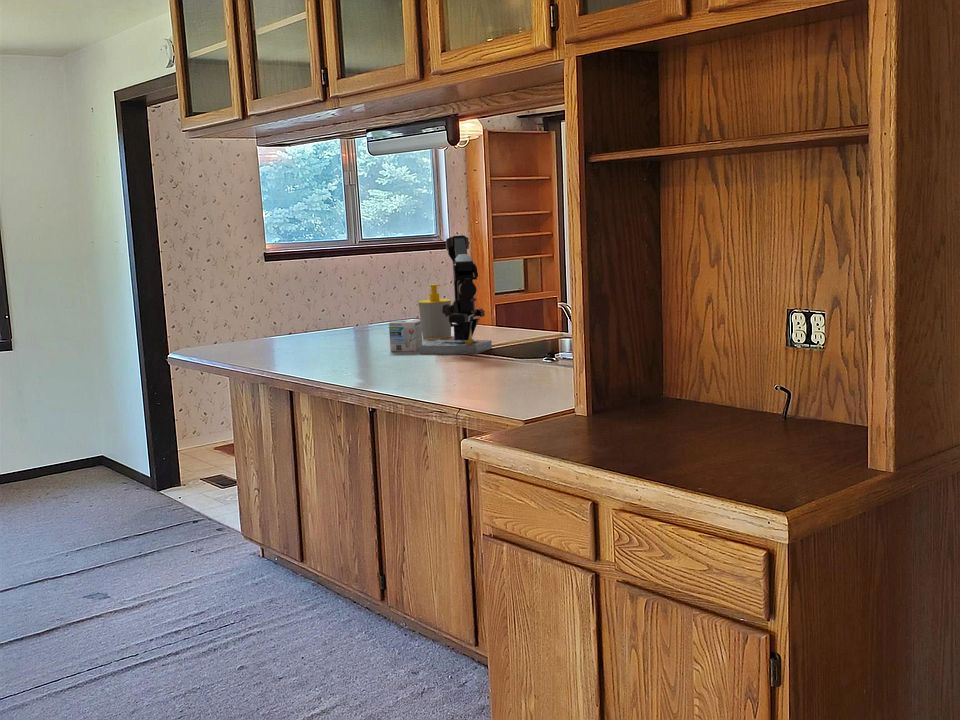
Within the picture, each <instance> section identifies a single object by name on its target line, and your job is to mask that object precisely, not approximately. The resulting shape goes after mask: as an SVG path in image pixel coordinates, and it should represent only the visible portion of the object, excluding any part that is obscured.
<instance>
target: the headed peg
mask: <svg viewBox="0 0 960 720" xmlns="http://www.w3.org/2000/svg"><path fill="white" fill-rule="evenodd" d="M472 339H473V336H472V333H471V331H470V335H469V339H468V340H465V344H472Z"/></svg>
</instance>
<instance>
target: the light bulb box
mask: <svg viewBox="0 0 960 720" xmlns="http://www.w3.org/2000/svg"><path fill="white" fill-rule="evenodd" d="M388 330H389V331H388V332H389V347H390V348H389V349H390V352H417V351H420V345H423V344H424V342H423V336H422V325H421V319H412V320H411V319H409V320H408V319H404V320H401V319H400V320H393V321H389V323H388Z"/></svg>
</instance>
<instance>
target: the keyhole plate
mask: <svg viewBox="0 0 960 720" xmlns="http://www.w3.org/2000/svg"><path fill="white" fill-rule="evenodd" d="M492 343H493V342H492V339H473V340H472V344H465V340H455V339H434V340H433V341H430V342H429V341H428V342H426V343H423V345H420V350H419V354H420V355H479V354H481V353H484V352H486V351H488V350H491V349H492V348H493V345H492Z"/></svg>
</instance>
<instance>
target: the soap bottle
mask: <svg viewBox="0 0 960 720" xmlns="http://www.w3.org/2000/svg"><path fill="white" fill-rule="evenodd" d="M429 287H430V293H429V299H424V300H420V301H418V310H419V318H420V319H419V320H421V325H422V339H425V340H441V339H448V338H451V337H452V327H451V326H450V322H449V316H447V317H446V316H445V314H444V313H442V311H443V310H442V309H443V305H446V304H449V305H450V306H451V305H452V300H451V299H448V298H440V292H438V287H441V284H437V283H434V284H433V283H432V284H429Z"/></svg>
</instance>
